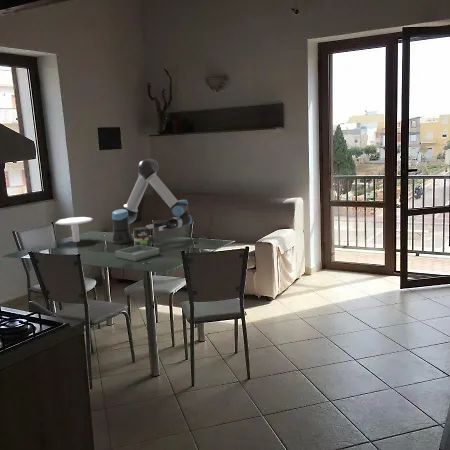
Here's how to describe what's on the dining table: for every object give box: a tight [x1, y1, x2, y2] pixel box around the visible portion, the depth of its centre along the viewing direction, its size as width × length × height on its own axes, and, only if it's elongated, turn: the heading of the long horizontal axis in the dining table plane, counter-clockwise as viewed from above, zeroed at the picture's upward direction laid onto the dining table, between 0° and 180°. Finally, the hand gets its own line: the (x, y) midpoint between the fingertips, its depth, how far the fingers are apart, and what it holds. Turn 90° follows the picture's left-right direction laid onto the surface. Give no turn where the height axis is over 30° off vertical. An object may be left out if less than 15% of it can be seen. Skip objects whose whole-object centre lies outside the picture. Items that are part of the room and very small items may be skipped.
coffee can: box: [132, 226, 150, 247], centre depth 334 cm, size 10×10×14 cm
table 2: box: [54, 216, 94, 243], centre depth 367 cm, size 28×28×17 cm
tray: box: [114, 245, 160, 262], centre depth 313 cm, size 20×20×4 cm
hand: (152, 228), depth 340 cm, fingers open, 13 cm apart
